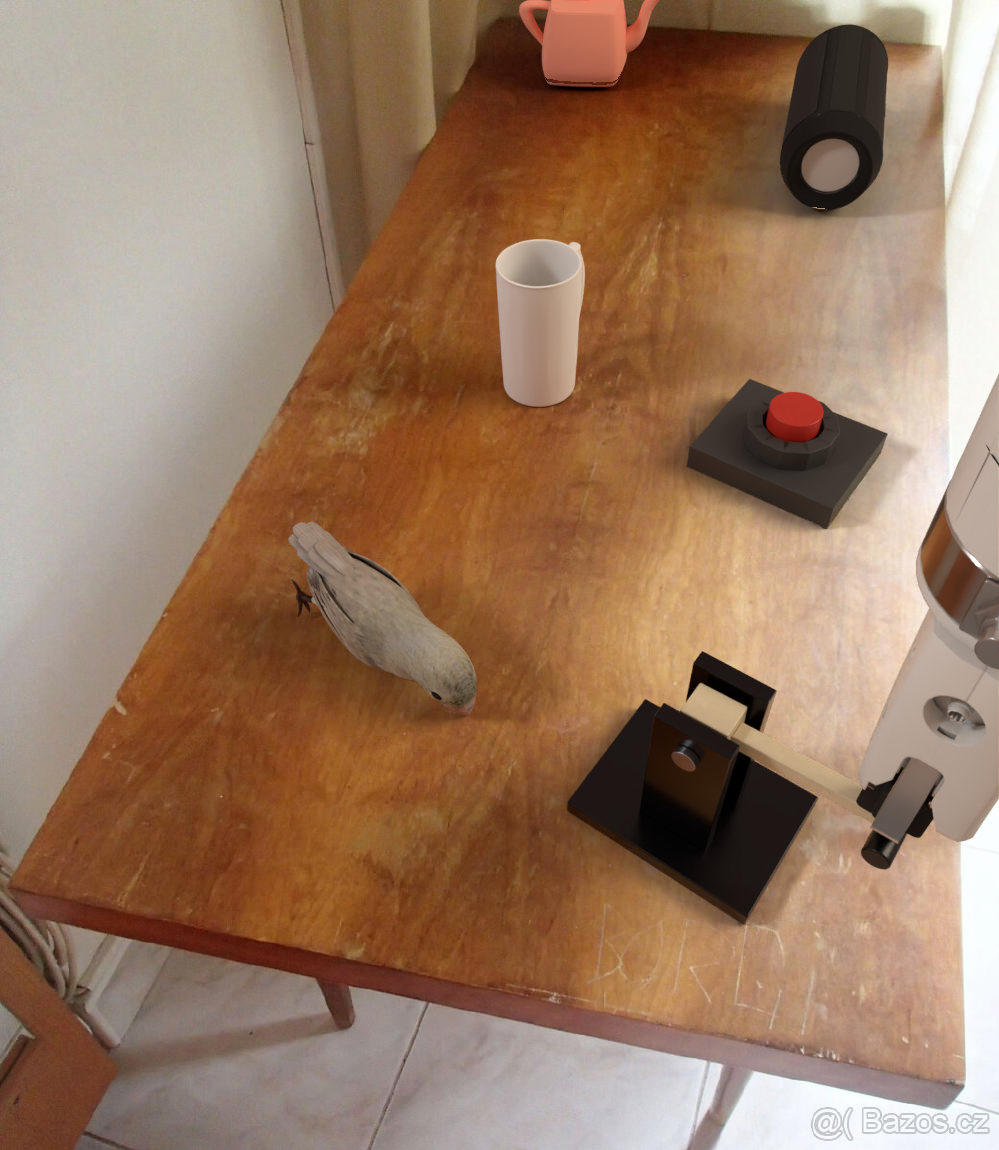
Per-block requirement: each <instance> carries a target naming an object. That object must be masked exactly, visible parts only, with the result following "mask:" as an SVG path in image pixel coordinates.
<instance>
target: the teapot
mask: <svg viewBox="0 0 999 1150" xmlns="http://www.w3.org/2000/svg"><path fill="white" fill-rule="evenodd" d="M624 1H625V0H525V1H523V2H521V3H520V5H519V7H518V8H519V9H518V11H519V16H520V19H521V21H522V22H523V24H524V26H525V27H526V29H527V30H528V31H529V32H530V33H531V35H532V36H533V37H534V38H535V40H536V41H537V42H538V43H539V44H540V45H541V47H542V48H541V66H542V72H543V75H544V78H545V77H546V78H547V79H553V80H558V81H571V82H593V83H596V82H613V81H615V80H617V79H618V77H619V76H620V77H621V75H622V73H621V72H623V71H624V66H625V64H626V63H627V58H628V54H629V53H631V52H632V51H634V50H635V49H636V48H638V47H639V46H640V44H641V43H642V42H643V40H644V37H645V35H646V32H647V29H648V26H649V22H650V18H651V15H652V12H653V11H654V8H655V7H656V5H657V4H658V3H659V2H660V1H661V0H644V1H643V2H642V5H641V7H640V10H639V14H638V16H637V18H636V20H635V21H634V22H633V23H632V24H631V25H629V26H628V23H627V15H626V8H625V2H624ZM535 10H543V11H547V15H546V19H545V23H544V29H543V32H542V30H541V29H540V27H539V25H538V23H537V21H536V19H535V16H534V11H535ZM620 74H621V75H620ZM620 77H619V78H620ZM546 78H545V81H546V82H547V84H549V85H550V86H559V87H579V88H580V87H581V88H609V87H613V86H615V85H616V84H617V83H618V81H619V79H618V80H617V81H616V82H615V83H613V84H607V85H592V84H564V83H552V82H548V81H547V80H546Z"/></svg>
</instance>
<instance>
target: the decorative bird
mask: <svg viewBox="0 0 999 1150" xmlns="http://www.w3.org/2000/svg"><path fill="white" fill-rule="evenodd" d="M292 532H293V533H292V534H291V535H290V536H289V537H288V539H287V542H288V543H289V544H290V546H291V547H292V548H293V549H295V551H296V554H297V556H298V558H300V559H301V561H303V562H304V563H305V564H307V565H308V566H309V567H308V568H307V571H306V580H307V585H308V588H309V592H310V594H311V595H309V594H307V593H306V592H305V591H304V590H302V589H301V587H300V586H299V584H298V583H297V582H296V581H295V580H294V579H291V582H292V584H293V586H294V588H295V590H296V594H295V600H296V601H297V605H298V612H297V618H299V617H300V616H301V614H302V611H303V606H304V607H305V608H306V610H307V611H308V613H311V606H310V604H312V603H313V604H314V605H315V606H317V607H318V609H319V611H320V613H321V615H322V617H323V619H324V621H325V622H326V624H327V625H328V627H329V628H330V629H331V631H332V632H333V633H334V635H335V637H336V638H337V639H338V640H339V641H340V643H341V644H342V645H343V646H344V648H346V649H347V651H348V652H350V654H352V655H353V656H354V657H355V658H356V659H357V660H358V661H360V662H361V663H363V664H365V666H368V667H370V668H373V669H377V670H379V671H384V672H387V673H390V674H393V675H395V676H396V677H399V678H401V679H404V680H408V681H411V682H415V683H417V684H418V685H419V686H420V687H421V689H423V691H424V692H425V693H427V695H428V696H429V697H431V698H432V699H434V700H436V701H437V702H439V703H441V704H442V705H443V706H444V707H445V708H447V709H448V710H449V711H450V712H452V713H454V714H456V715H458V716H462V717H469V716H470V715H471V713H472V712H473V709H474V706H475V703H476V699H477V698H476V697H477V691H478V678H477V673H476V671H475V667H474V665H473V662H472V661H471V659H470V657H469V655H468V653H467V652H466V651H465V649H464V648H463V647H462V646H461V645H460V643H459V642H458V641H457V640H455V639H454V638H453V637H452V636H451V635H449V633H447V632H445V631H444V630H442V629H441V628H439V627H438V626H437V625H435V624H434V623H433V622H431V620H430V619H428V617H426V615H424V613H423V611H422V609H421V608H420V606H419V604H418V602H417V601H416V599H415V598H414V596H413V595H412V594H411V592H410V591H409V590H408V589H407V588H406V586H405V585H404V584H403V583H402V581H400V579H398V578H397V577H396V576H395V575H394V574H393V573H391V572H390V571H389V570H387V569H386V568H385V567H383V566H382V565H381V564H379V563H378V562H376V561H374V560H372V559H370V558H368V557H366V556H364V555H361V554H360V553H356V552H354V551H352V550H350V549H349V548H346V547H345V546H343V545H341V543H340V542H339V541H338V540H336V538H335V537H334V536H333V535H332V534H331V533H330V532H329V531H328V530H325V529H323V528H322V527H321V526H320V525H319V524H318V523H317V522H316V521H308V522H307V523H305V522H302V521H300V522H298V523H296V524H295V525H294V526H293V527H292Z"/></svg>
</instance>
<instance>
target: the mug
mask: <svg viewBox="0 0 999 1150" xmlns="http://www.w3.org/2000/svg"><path fill="white" fill-rule="evenodd" d="M585 269H586V267H585V262H584V258H583V254H582V251H581V243H579V242H576V241H571V242H569V244H567V243H566V242H562V241H559V240H554V239H547V238H536V239H528V240H522V241H519V242H516V243H514V244H511V245H509V246H508V247H506V248H505V249H503V250H502V251H501V252H500V253H499V254H498V256H497V258H496V260H495V274H496V275H495V276H496V278H495V279H496V292H497V293H496V295H497V309H498V324H499V325H498V327H499V341H500V353H501V354H500V355H501V357H500V358H501V366H502V367H501V368H502V379H503V381H502V383H503V388H504V391H505V393H506V395H507V396H508V397H509V398H511V399H512V400H513V401H514V402H516V403H518V404H521V405H524V406H528V407H535V408H542V407H543V408H544V407H551V406H554V405H557V404H559V403H561V402H563V401H565V400H566V399H567V398H568V397H570V396H571V395H572V393H573V391H574V389H575V386H576V375H577V364H578V362H577V361H578V347H579V327H580V316H581V311H582V306H583V299H584V293H585V283H586V282H585V281H586V270H585Z"/></svg>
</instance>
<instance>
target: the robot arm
mask: <svg viewBox="0 0 999 1150" xmlns="http://www.w3.org/2000/svg"><path fill="white" fill-rule="evenodd" d="M967 440H968V441H967V443H966V445H965V447H964V450H963V451H962V453H961V456H960V458H959V460H958V462H957V464H956V466H955V469H954V472H953V474H952V476H951V478H950V480H949V482H948V484H947V486H946V488H945V490H944V493H943V495H942V497H941V499H940V502H939V504H938V506H937V508H936V510H935V513H934V515H933V517H932V520H931V522H930V524H929V526H928V528H927V531H926V533H925V535H924V537H923V540H921V541H922V542H921V543H920V545H919V548H918V551H917V555H916V559H915V576H916V582H917V587H918V589H919V592H920V594H921V596H922V599H923V601H924V602H925V604H926V606H928V609H927V611H926V614H925V616H924V618H923V620H922V622H921V625H920V626H919V629H918V630H917V633H916V634H915V637H914V639H913V641H912V644H911V645H910V647H909V649H908V652H907V654H906V656H905V658H904V660H903V662H902V664H901V667H900V669H899V671H898V674H897V676H896V678H895V680H894V683H893V684H892V687H891V689H890V691H889V694H888V696H887V698H886V701H885V703H884V705H883V707H882V710H881V713H880V715H879V717H878V720H877V721H876V725H875V726H874V729H873V732H872V733H871V736H870V739H869V742H868V744H867V747H866V750H865V752H864V755H863V757H862V760H861V762H860V764H859V767H858V770H857V777H858V780H859V784H860V785H861V786H862V790H861V792H860V794H859V796H858V798H857V800H856V802H857V804H858V805H859V806H860V807H861V808H863V809H865V810H866V811H868V812H870V813H872V815H873V817H874V818H875V819H874V821H873V823H871V825H870V826H869V828H870V829H871V830H872V829H873V830H875V831H876V832H878V833H880V834H882V835H883V836H885V837H887V838H889V839H890V840H892V841H894V842H896V843H897V844H898V843H899V842H900V840H901V839H902V837H903V835H904V834H905V833H907V835H909V836H911V837H913V838H917V839H920V838H922V836H923V835H924V833H925V832H926V830H928V828H929V826H930V825H931V823H932V822H934V828H935V830H936V833H938V834H939V835H941V836H943V837H946V838H947V839H949V840H952V841H954V842H956V843H963V842H965V841H969V840H971V839H974V837H975V835H976V834H977V833H978V830H979V829H980V828H981V826H982V825H983V823H984V822H985V820H986V818H987V817H988V816H989V814H990V813H991V812H992V810H993V808H994V807H995V805H996V804H997V802H998V801H999V373H997V376H996V378H995V381H994V382H993V385H992V388H991V390H990V392H989V394H988V396H987V398H986V401H985V403H984V405H983V407H982V409H981V411H980V414H979V416H978V418H977V421H976V423H975V425H974V426H973V429H972V432H971V433H970V436H969V439H967Z"/></svg>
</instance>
